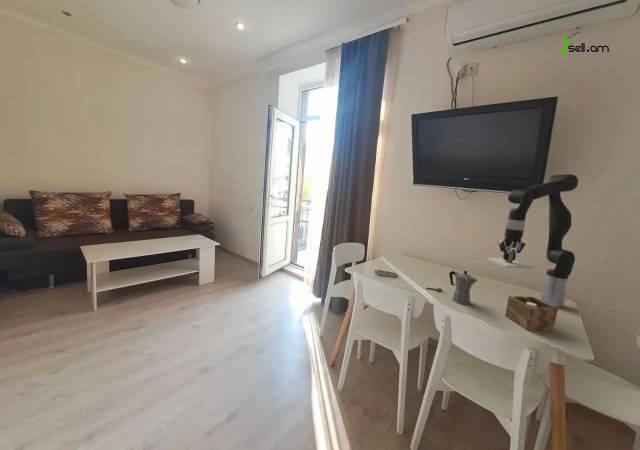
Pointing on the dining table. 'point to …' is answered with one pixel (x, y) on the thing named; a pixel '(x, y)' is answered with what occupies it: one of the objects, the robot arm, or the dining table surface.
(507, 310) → the box
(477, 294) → the dining table surface
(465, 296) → the coffeepot
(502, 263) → the lid
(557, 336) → the dining table surface
